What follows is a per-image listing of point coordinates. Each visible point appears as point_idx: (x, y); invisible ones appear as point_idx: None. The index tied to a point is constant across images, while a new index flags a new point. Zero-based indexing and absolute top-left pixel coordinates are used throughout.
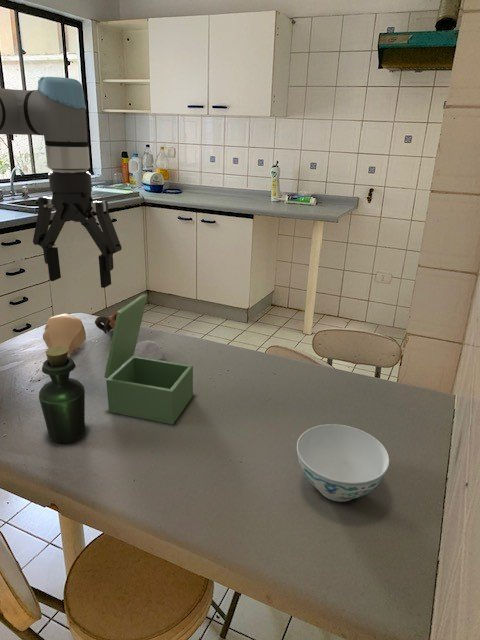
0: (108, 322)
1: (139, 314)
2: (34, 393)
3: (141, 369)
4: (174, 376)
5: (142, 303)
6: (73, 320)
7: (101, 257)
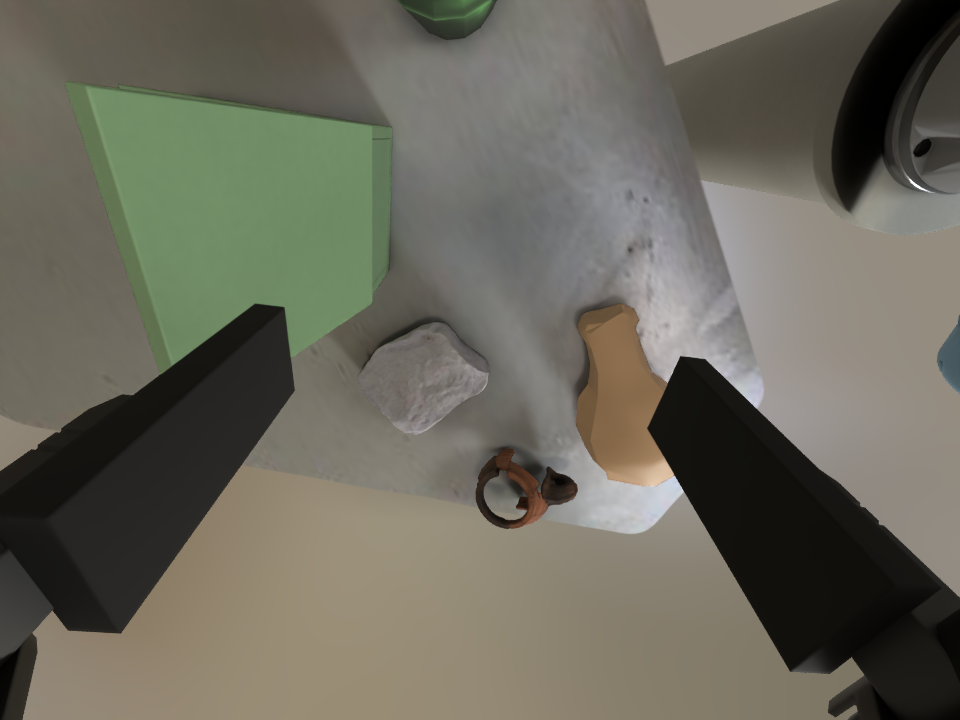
0: (541, 486)
1: None
2: (620, 183)
3: None
4: None
5: None
6: (618, 459)
7: (18, 495)
